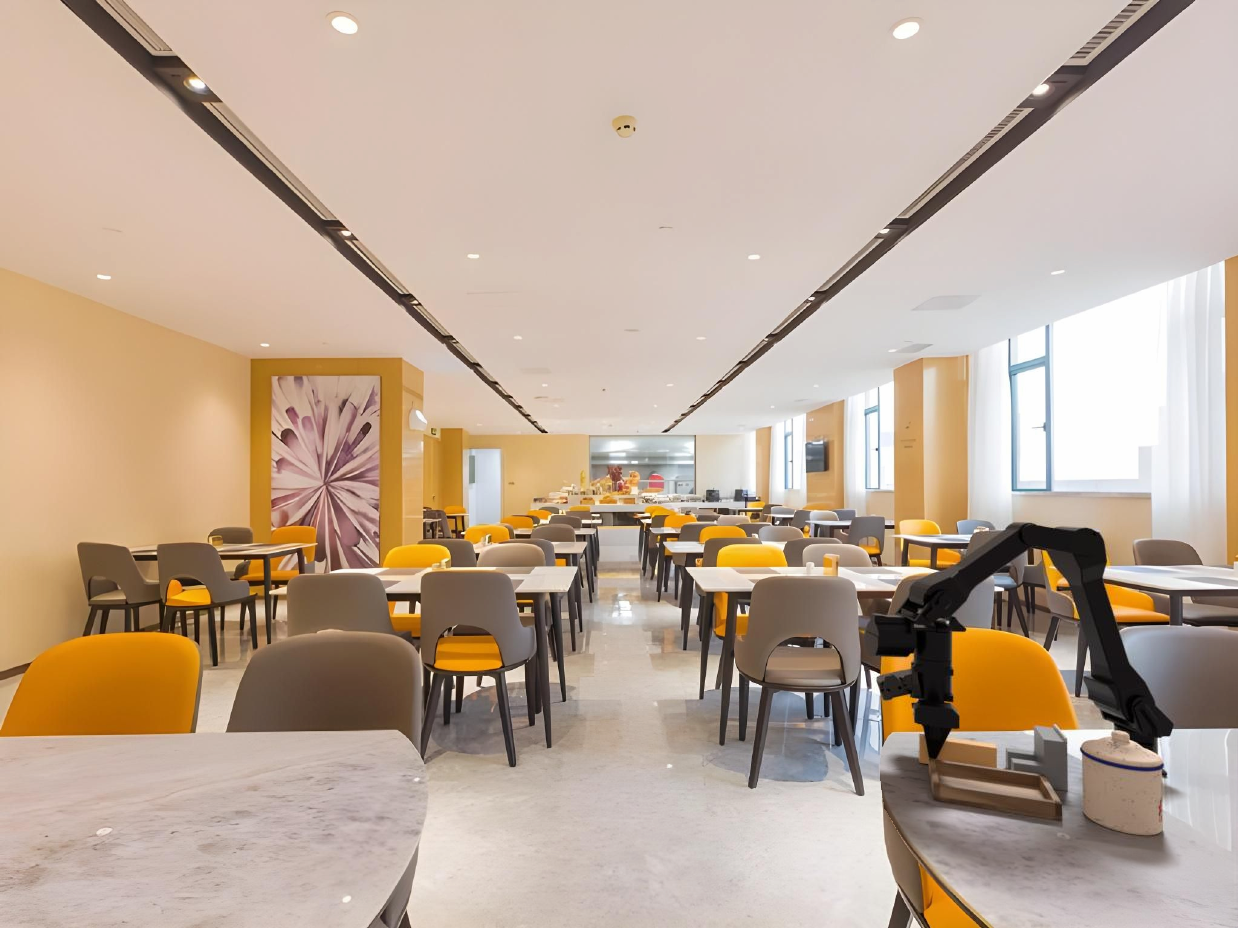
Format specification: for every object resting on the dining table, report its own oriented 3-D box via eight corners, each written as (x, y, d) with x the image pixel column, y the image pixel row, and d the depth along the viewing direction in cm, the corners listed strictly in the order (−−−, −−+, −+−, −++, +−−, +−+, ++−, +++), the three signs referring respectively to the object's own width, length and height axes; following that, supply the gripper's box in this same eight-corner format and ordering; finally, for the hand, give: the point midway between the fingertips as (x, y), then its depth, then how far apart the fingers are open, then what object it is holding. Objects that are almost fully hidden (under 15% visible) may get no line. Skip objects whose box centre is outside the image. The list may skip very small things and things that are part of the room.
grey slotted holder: (1005, 766, 110) (1005, 718, 110) (1056, 773, 107) (1055, 724, 108) (1013, 782, 103) (1013, 731, 104) (1067, 790, 101) (1067, 738, 101)
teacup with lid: (1182, 840, 86) (1180, 746, 87) (1103, 833, 88) (1102, 741, 88) (1126, 799, 98) (1124, 717, 99) (1057, 794, 99) (1056, 713, 100)
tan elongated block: (918, 758, 112) (919, 733, 112) (994, 769, 108) (994, 743, 108) (919, 762, 110) (919, 737, 110) (996, 774, 106) (996, 748, 106)
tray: (928, 772, 106) (928, 758, 106) (1044, 790, 101) (1044, 774, 101) (933, 799, 96) (933, 783, 97) (1062, 820, 91) (1062, 803, 91)
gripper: (879, 642, 123) (878, 730, 122) (879, 664, 105) (878, 767, 105) (948, 649, 119) (947, 740, 118) (960, 672, 101) (959, 780, 101)
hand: (932, 755), depth 110 cm, fingers closed on tan elongated block, 2 cm apart
